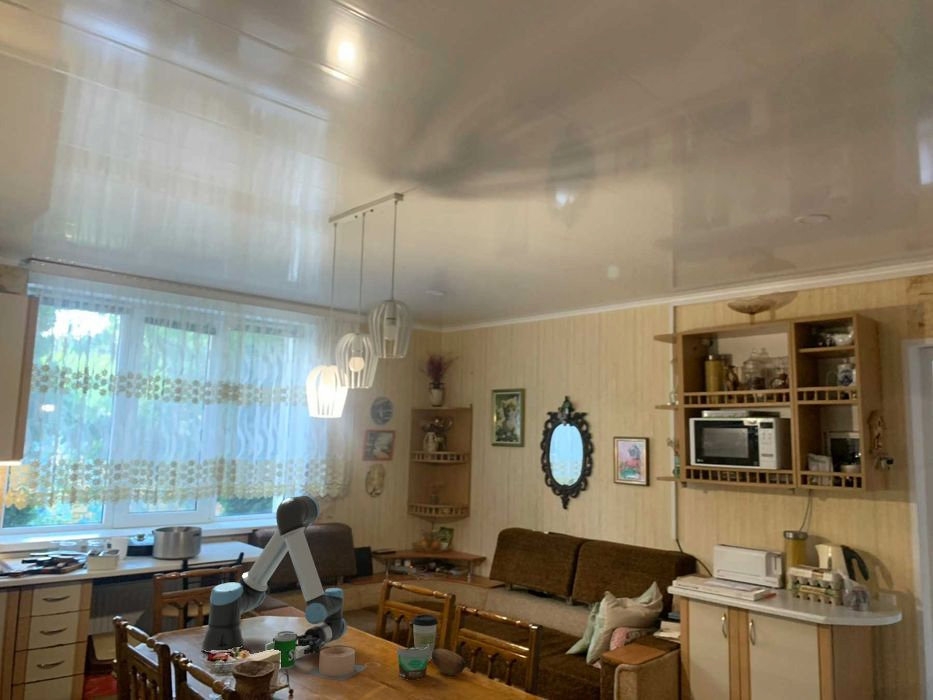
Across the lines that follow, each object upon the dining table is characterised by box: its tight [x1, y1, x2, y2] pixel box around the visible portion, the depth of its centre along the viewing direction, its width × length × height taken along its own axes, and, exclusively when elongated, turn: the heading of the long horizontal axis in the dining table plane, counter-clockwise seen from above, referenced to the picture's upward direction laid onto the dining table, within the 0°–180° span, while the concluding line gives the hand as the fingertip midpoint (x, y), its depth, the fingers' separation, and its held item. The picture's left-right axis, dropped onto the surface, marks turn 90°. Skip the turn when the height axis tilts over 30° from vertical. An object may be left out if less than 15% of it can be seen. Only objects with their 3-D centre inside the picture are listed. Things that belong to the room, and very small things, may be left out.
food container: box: [395, 644, 430, 681], centre depth 225 cm, size 12×6×10 cm, turn 118°
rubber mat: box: [303, 663, 369, 682], centre depth 228 cm, size 16×16×1 cm
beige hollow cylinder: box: [318, 646, 356, 676], centre depth 229 cm, size 12×12×6 cm
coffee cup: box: [411, 614, 439, 662], centre depth 246 cm, size 10×10×15 cm
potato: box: [431, 647, 466, 676], centre depth 231 cm, size 8×14×8 cm
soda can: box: [273, 630, 297, 670], centre depth 232 cm, size 8×8×12 cm
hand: (281, 651), depth 230 cm, fingers open, 13 cm apart
